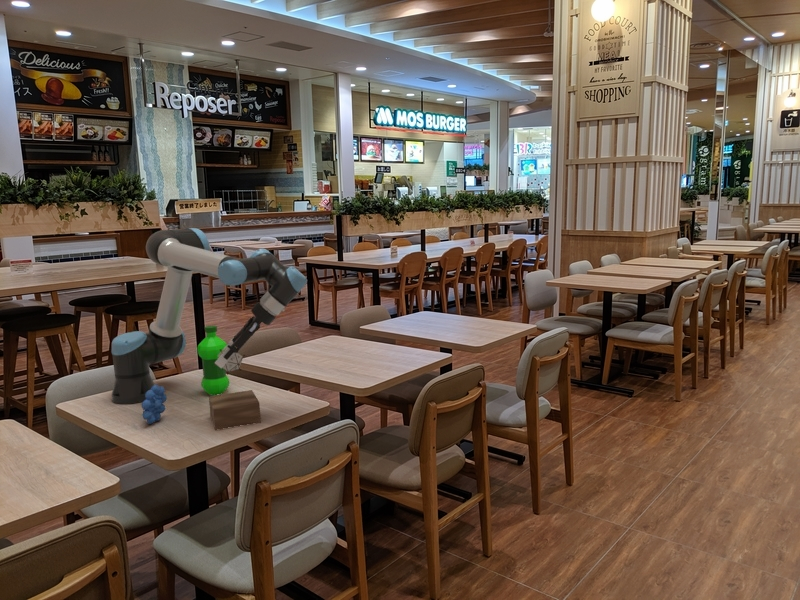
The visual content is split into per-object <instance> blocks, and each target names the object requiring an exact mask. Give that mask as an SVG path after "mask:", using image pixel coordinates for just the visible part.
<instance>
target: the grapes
mask: <svg viewBox="0 0 800 600" xmlns="http://www.w3.org/2000/svg"><path fill="white" fill-rule="evenodd" d="M165 392H166V391H165V387H164V386H162V385H160V386H159V385H158V384H155V385H153V386H152V388H151V390H148V391H147V392H146V394H145V397H146V400H144V401H143V402H141V408H142V409H143V412H142V413H141V416H142V418H143V419H144V420H145V421H146V423H147V424H149V425H151V424H153V423H155V422H159V420H161V417H162V414H163V413H164V412H165V411H166V405H165V404H164V403H166V402H167V400H168V397H167V394H165Z"/></svg>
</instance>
